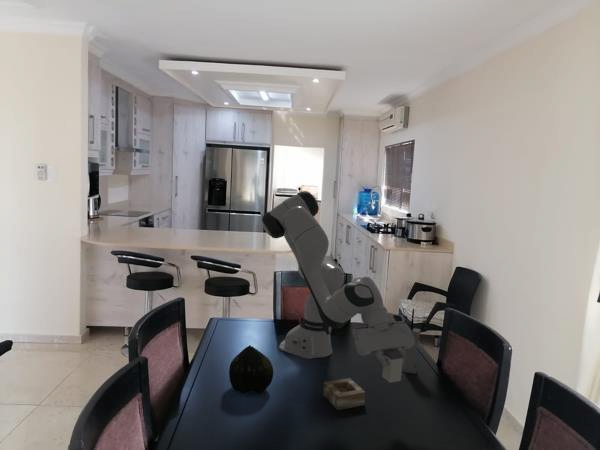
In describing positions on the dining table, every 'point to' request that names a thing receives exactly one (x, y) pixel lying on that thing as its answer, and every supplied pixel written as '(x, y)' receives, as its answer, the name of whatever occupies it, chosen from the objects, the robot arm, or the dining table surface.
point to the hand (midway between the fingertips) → (393, 364)
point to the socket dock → (344, 393)
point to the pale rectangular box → (393, 366)
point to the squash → (250, 371)
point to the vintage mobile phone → (411, 351)
